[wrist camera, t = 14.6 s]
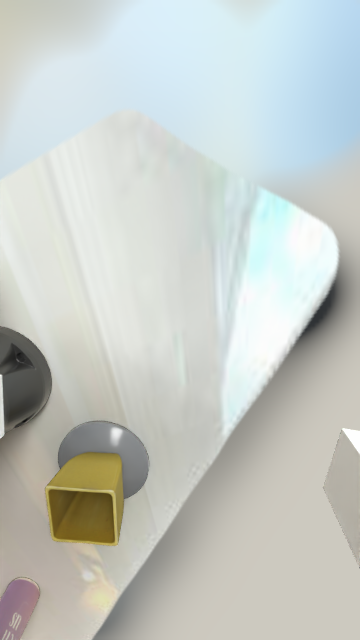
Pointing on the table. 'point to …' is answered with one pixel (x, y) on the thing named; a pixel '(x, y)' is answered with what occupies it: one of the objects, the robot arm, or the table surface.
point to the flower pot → (87, 500)
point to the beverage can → (17, 607)
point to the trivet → (109, 450)
